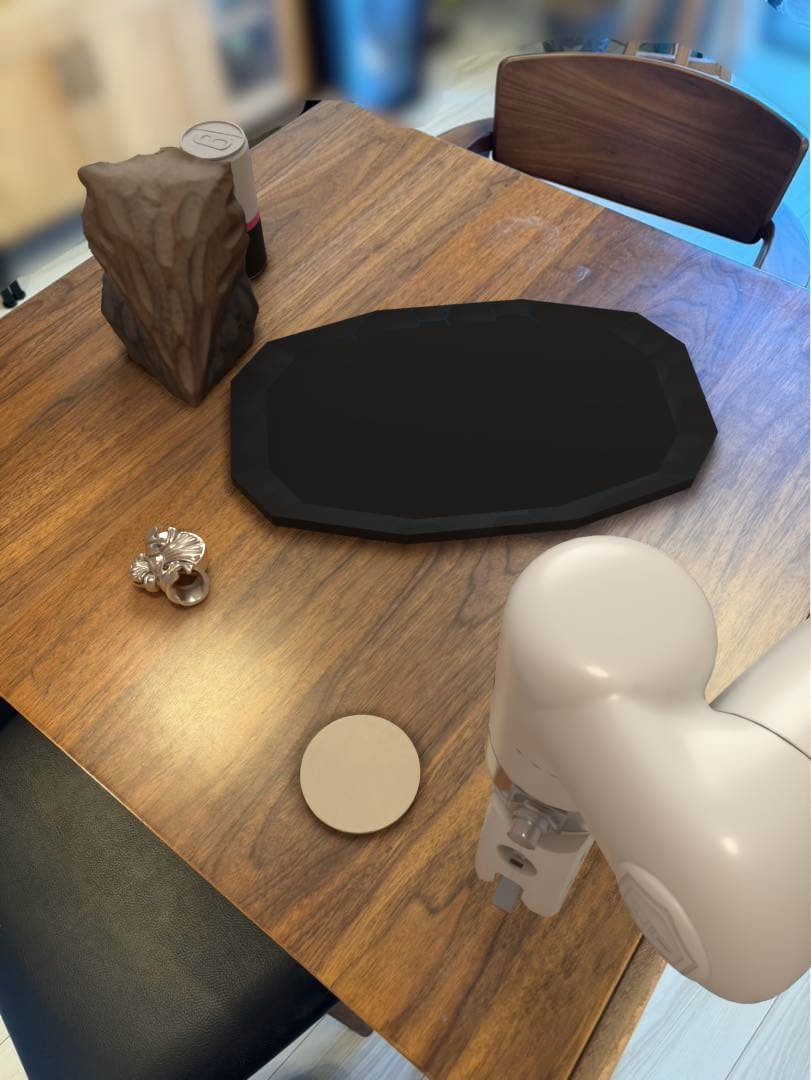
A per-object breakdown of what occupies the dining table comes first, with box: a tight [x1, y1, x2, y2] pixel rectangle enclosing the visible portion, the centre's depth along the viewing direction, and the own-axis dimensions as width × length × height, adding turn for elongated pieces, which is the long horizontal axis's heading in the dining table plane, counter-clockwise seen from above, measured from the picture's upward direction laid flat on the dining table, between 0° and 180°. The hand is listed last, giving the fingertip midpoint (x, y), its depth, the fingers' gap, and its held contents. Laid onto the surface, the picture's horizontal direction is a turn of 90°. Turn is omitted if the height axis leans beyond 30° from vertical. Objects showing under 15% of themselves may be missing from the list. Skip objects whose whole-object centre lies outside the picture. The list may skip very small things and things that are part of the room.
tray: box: [229, 298, 719, 545], centre depth 85 cm, size 45×28×2 cm, turn 96°
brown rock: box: [76, 146, 260, 409], centre depth 83 cm, size 13×13×20 cm
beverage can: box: [178, 119, 268, 280], centre depth 91 cm, size 7×6×15 cm
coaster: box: [299, 714, 421, 835], centre depth 67 cm, size 9×9×1 cm
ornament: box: [127, 525, 211, 607], centre depth 75 cm, size 8×7×4 cm
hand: (531, 851), depth 55 cm, fingers closed
